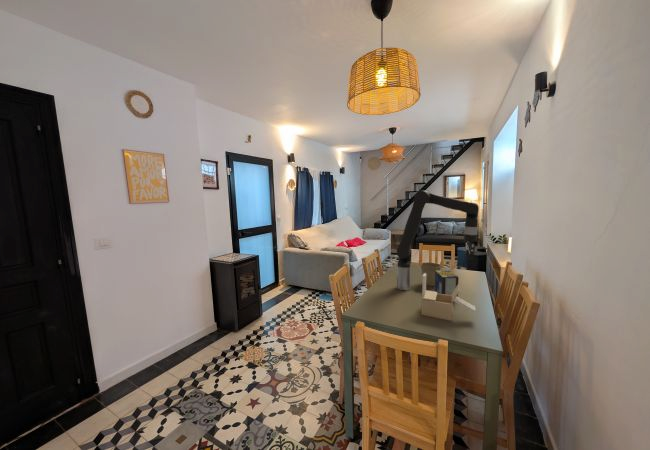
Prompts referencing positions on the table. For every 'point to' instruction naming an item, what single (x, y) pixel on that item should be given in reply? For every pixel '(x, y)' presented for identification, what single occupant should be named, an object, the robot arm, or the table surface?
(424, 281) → the flap left
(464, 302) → the flap right
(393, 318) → the table surface
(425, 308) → the carton
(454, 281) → the protein box
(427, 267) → the plant pot
